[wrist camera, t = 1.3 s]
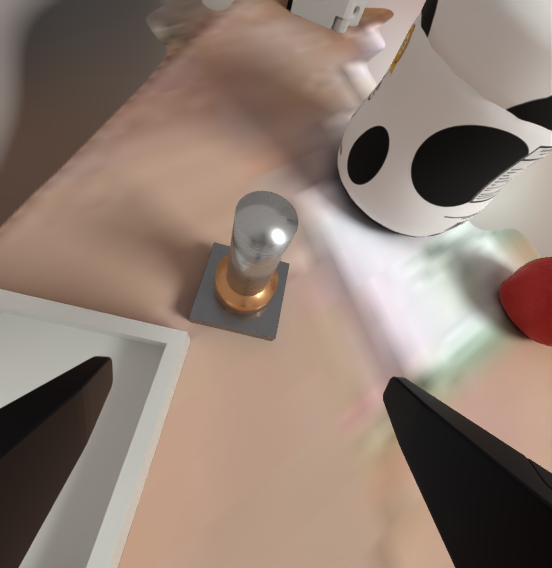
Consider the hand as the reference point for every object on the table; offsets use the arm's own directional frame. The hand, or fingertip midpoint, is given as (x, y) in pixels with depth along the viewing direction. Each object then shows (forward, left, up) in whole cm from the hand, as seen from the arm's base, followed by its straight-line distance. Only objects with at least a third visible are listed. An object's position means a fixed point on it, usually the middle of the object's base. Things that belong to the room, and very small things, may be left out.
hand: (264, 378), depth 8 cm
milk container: (+27, -14, -13) cm, 33 cm away
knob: (+8, +1, -12) cm, 14 cm away
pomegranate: (+15, -32, -14) cm, 38 cm away
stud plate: (+7, +1, -13) cm, 15 cm away
